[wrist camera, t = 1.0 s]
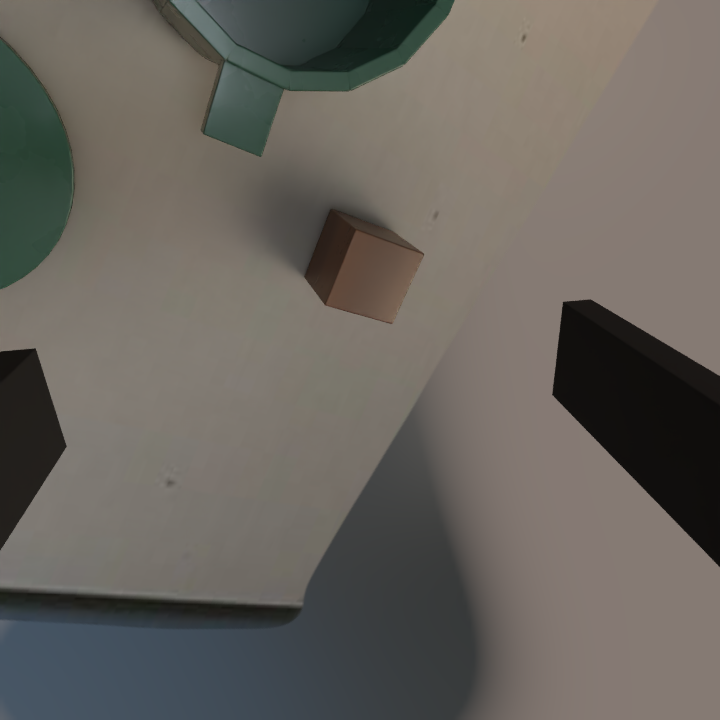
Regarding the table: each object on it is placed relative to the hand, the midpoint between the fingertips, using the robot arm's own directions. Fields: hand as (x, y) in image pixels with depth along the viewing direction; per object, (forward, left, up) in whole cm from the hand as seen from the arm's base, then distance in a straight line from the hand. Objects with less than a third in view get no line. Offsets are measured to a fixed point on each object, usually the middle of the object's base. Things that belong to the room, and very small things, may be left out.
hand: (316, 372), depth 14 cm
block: (+8, -1, -20) cm, 21 cm away
